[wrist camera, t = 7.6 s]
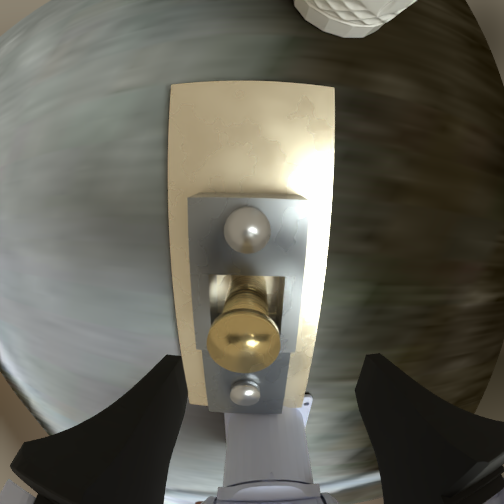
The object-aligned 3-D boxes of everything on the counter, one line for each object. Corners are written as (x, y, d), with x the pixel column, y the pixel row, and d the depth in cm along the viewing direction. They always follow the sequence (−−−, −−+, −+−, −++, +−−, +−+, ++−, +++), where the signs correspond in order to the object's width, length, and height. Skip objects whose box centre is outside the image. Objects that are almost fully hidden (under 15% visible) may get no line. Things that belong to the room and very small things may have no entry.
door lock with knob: (300, 399, 22) (306, 438, 18) (191, 396, 22) (182, 434, 18) (330, 91, 15) (354, 68, 10) (175, 88, 15) (150, 65, 10)
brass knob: (271, 307, 18) (277, 373, 12) (223, 306, 18) (208, 371, 12) (273, 262, 17) (283, 315, 11) (222, 261, 17) (204, 313, 11)
